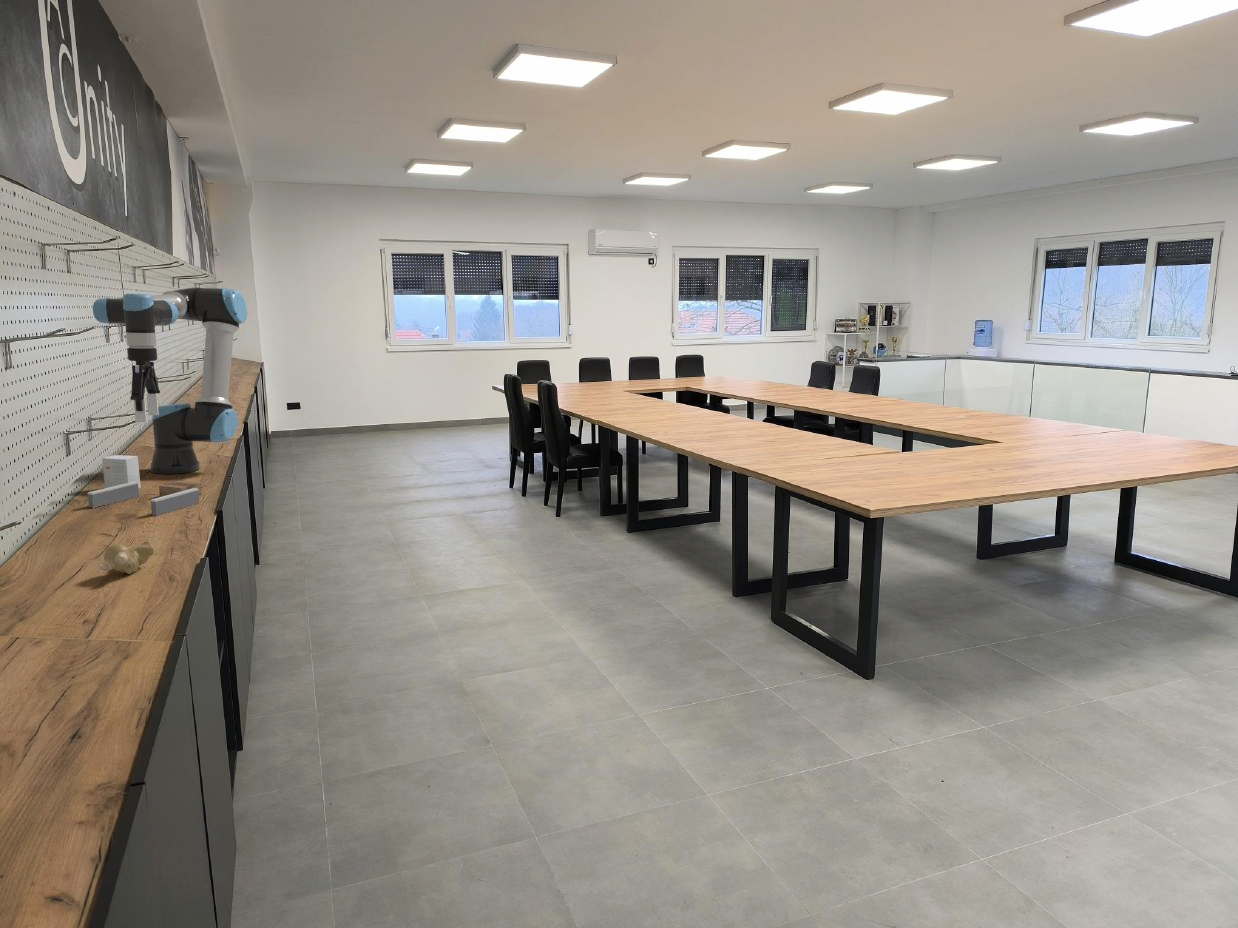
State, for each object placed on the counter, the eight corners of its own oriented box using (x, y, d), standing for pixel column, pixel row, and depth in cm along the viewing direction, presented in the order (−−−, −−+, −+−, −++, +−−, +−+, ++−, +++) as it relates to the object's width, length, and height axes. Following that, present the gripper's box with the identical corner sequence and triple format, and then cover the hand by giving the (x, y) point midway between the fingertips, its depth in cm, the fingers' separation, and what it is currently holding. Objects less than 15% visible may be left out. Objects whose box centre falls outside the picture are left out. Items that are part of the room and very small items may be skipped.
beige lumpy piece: (155, 538, 183) (124, 538, 171) (161, 568, 183) (131, 571, 171) (119, 548, 183) (85, 548, 171) (125, 578, 182) (92, 581, 170)
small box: (141, 488, 253) (138, 456, 251) (128, 492, 248) (126, 459, 246) (117, 487, 254) (114, 454, 252) (104, 491, 248) (101, 457, 246)
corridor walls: (134, 495, 244) (133, 481, 243) (199, 503, 238) (198, 488, 237) (88, 507, 228) (87, 492, 228) (156, 516, 223) (155, 500, 222)
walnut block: (180, 493, 251) (179, 480, 250) (201, 495, 249) (201, 482, 248) (159, 498, 243) (159, 485, 242) (182, 501, 241) (181, 488, 240)
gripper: (139, 344, 247) (144, 412, 251) (114, 350, 223) (120, 425, 227) (166, 344, 249) (171, 412, 253) (144, 350, 225) (150, 425, 230)
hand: (147, 418), depth 240 cm, fingers open, 13 cm apart
